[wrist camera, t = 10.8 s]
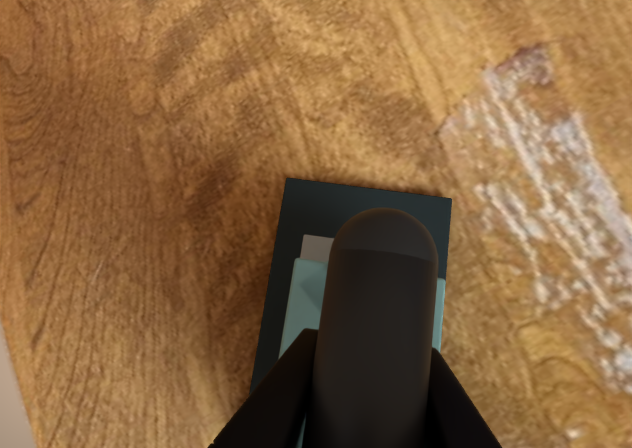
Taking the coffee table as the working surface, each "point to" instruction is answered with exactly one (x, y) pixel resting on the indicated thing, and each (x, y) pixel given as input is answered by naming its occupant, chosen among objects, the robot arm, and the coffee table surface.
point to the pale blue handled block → (368, 330)
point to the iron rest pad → (325, 221)
